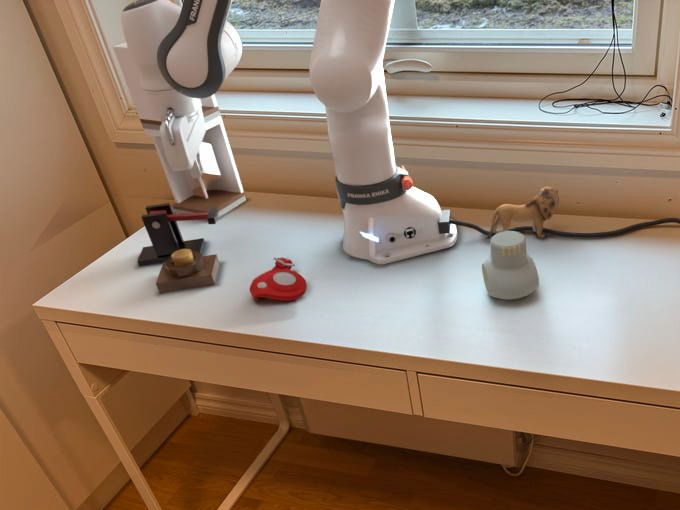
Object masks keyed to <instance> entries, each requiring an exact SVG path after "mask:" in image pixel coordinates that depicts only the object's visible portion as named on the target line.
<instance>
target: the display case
mask: <svg viewBox="0 0 680 510" xmlns="http://www.w3.org/2000/svg"><path fill="white" fill-rule="evenodd" d="M112 48H113V51H114V54H115V57H116V59H117V63H118V65H119V67H120V70H121V73H122V76H123V79H124V81H125V84H126V87H127V89H128V92H129V94H130V97H131V100H132V102H133V106H134V107H135V110H136V112H137V113H136V114H137V116H138V118H139V121H140V123H141V124H140V125H141V126H142V129H143V132H144V134H145V136H150V137H151V139H152V142H153V145H154V147H155V150H156V153H157V156H158V158H159V162H160V165H161V167H162V169H163V172H164V174H165V178H166V180H167V183H168V185H169V188H170V191H171V193H172V196H173V199H174V201H175V203H173V204H171V207H172V210H173V213H174V214H187V213H206V212H209V210H210V207H217V209H218V216H217V219H219V218H220V217H222V216H224V215H225V214H227V213H228V212H230V211H232V210H233V209H235V208H236V207H238V206H239V205H241V204H242V203H244V202H246V201H247V198H246V194H245V191H244V188H243V184H242V180H241V177H240V174H239V171H238V167H237V164H236V161H235V158H234V154H233V151H232V148H231V145H230V142H229V138H228V135H227V131H226V128H225V125H224V121H223V118H222V114H221V111H220V108H219V105H218V101H217V98H216V95H215V94H213V95H212V96H210V97H207V98H201V102H202V112H203V116H204V121H205V128H206V132H205V135H204V137H203V140H202V143H201V145H200V148H199V151H200V157H201V164H202V167H203V172H202V175H201V177H199V178H192V177H191V174H190V171H189V169H187V170H180V171H173V170H172V169H171V167H170V166H169V163H168V160H167V157H166V154H165V150H164V147H163V144H162V140H161V136H160V126H161V124H162V122H161V119H160V118H157V117H154V116H152V115H151V113H150V110H149V108H148V105H147V102H146V99H145V96H144V93H143V90H142V87H141V83H140V74H139V72H138V69H137V68H136V66H135V65H134V63H133V61H132V59H131V56H130V53H129V50H128V47H127V43H126V41H125V42H122V43H119V44H116V45H114V46H112ZM205 220H207V219H205ZM207 221H208V220H207Z"/></svg>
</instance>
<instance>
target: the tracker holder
mask: <svg viewBox="0 0 680 510" xmlns="http://www.w3.org/2000/svg"><path fill="white" fill-rule="evenodd" d="M273 261H275V262H274V267H272V268H271V269H270V270H267V271H264V272H263V273H261V274H260V275H258V276H256V277H255V278H254V279H252V282H251V283H250V285H249V294H250V295H251V297H252V298H253V300H255V301H256V300H259V299H261V298H267V299H271V300H276V301H287V302H288V301H295V300H297V299H300V298H301V297H303V296H304V295H305V293H306V292H307V288H308V287H307V286H308V283H307V281H306V278H305V277H304V276H303V275H301V274H300V273H299V272H297V271H295V270H293V269H292V267H296V264H295V263H294V262H293V261H292V260H291V259H290V258H289V257H282V256H281V257H273Z"/></svg>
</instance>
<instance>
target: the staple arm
mask: <svg viewBox="0 0 680 510" xmlns="http://www.w3.org/2000/svg"><path fill="white" fill-rule="evenodd" d="M161 212H166V210H156V211H150V214H154V213H161ZM166 213H167V212H166ZM167 216H168V219H169V221H176V222H183V221H184V222H185V221H203V220H206V219H207V225H216V224H217V220H218V218H217V216H218V209H217V207H210V210H209V212H206V213H187V214H175V213H173V214H168V215H167Z"/></svg>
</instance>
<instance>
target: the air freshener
mask: <svg viewBox="0 0 680 510" xmlns="http://www.w3.org/2000/svg"><path fill="white" fill-rule="evenodd" d="M502 231H503V230H502ZM489 245H490V257H488V258H487V259H486V260H485V261H484V262H483V263H482V264H481V271H482V277H483V282H484V286H485V288H486V291H487V294H488V295H489V296H491V297H493V298H496V299H500V300H506V301H507V300H508V301H510V300H518V299H522V298H524V297H527V296H529V295H531V294H532V293H534V292H535V291H536V290H537V289H538V287H539V285H540V278H539V273H538V270H537V269H538V268H537V265H536V263H535V261H534V259H533V257H532V256H530V255H529V254H527V237H526V236H525V235H524V234H523V233H521V232H520V231H518V232H516V231H503V232H499V233H497V234H495V235H494V236H491V237H490V240H489Z"/></svg>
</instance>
